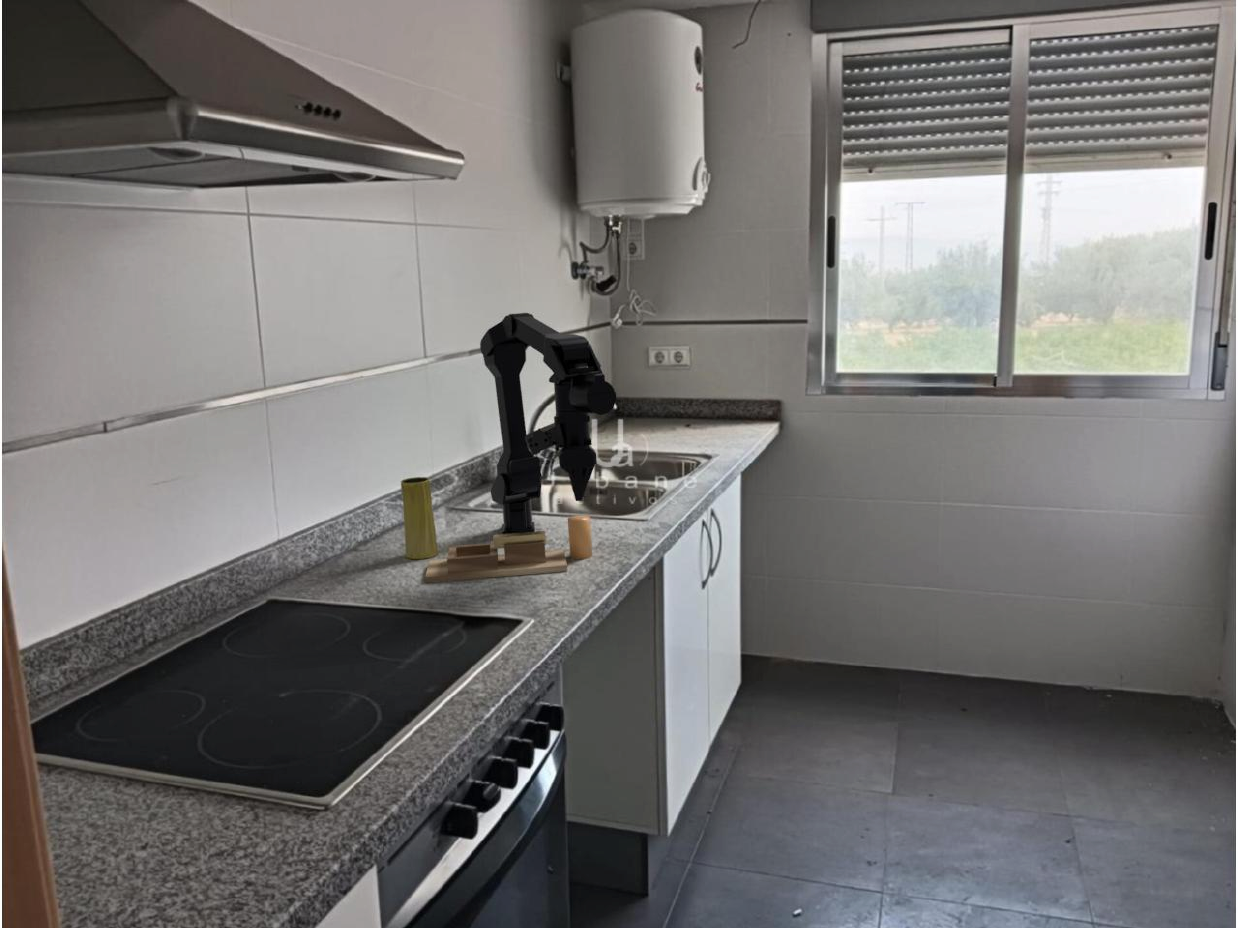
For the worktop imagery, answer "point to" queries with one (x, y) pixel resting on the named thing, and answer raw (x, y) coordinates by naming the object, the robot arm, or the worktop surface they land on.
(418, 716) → the worktop surface
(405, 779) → the worktop surface
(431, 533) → the vase
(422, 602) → the worktop surface
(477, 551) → the dock board
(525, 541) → the bar
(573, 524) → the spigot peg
